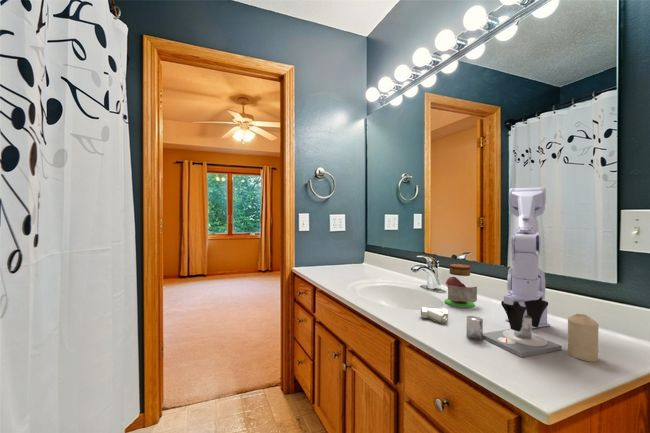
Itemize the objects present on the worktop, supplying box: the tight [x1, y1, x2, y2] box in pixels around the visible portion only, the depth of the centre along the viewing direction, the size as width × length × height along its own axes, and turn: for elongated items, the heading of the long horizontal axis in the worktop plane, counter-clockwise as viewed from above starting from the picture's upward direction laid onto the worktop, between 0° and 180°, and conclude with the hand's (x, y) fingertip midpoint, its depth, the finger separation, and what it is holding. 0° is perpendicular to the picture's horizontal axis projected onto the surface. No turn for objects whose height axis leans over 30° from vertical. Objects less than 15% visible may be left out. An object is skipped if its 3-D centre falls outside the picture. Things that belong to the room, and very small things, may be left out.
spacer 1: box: [465, 315, 484, 342], centre depth 79 cm, size 4×4×6 cm
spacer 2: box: [514, 314, 533, 339], centre depth 77 cm, size 4×4×6 cm
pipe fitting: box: [420, 306, 449, 325], centre depth 92 cm, size 8×4×7 cm
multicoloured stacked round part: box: [444, 263, 478, 309], centre depth 111 cm, size 12×13×15 cm
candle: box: [567, 313, 599, 363], centre depth 69 cm, size 6×6×10 cm
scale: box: [483, 328, 563, 358], centre depth 76 cm, size 14×12×1 cm
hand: (524, 328), depth 77 cm, fingers open, 7 cm apart
